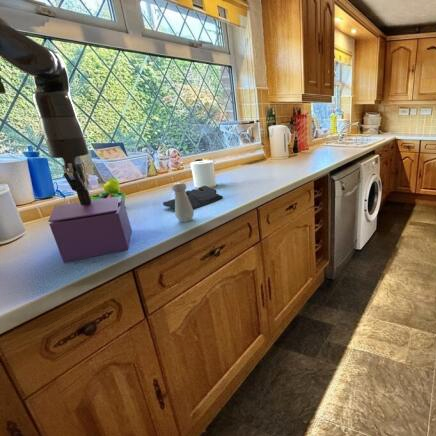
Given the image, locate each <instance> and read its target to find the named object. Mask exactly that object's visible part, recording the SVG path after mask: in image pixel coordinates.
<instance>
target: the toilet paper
mask: <svg viewBox="0 0 436 436" xmlns="http://www.w3.org/2000/svg"><path fill="white" fill-rule="evenodd" d="M190 169H191V174H192V179H193V186H194V188H195V187H197V188H196V189H198V188H200V187H202V186H207V187H210V188H213V187H216V186H217V185H218V184H217V178H216V172H215V166H214V161H213V160H197V161H196V160H195V161H192V162H190Z"/></svg>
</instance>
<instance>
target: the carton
mask: <svg viewBox="0 0 436 436" xmlns="http://www.w3.org/2000/svg"><path fill="white" fill-rule="evenodd" d="M112 198H115V197H112ZM105 199H108V198H105ZM98 200H101V199H98ZM91 201H93V199H91ZM79 202H80V201H77V202H76V201H75V203H79ZM71 203H72V202H69V203H68V204H71ZM127 211H128V210H127V208H126V204H124V200H123V199H122V196H120V197H118V211H117V212H111V213H105V214H98V215H92V216H85V217H79V218H73V219H66V220H60V221H53V222H49V224H48V225H49V228H50V230H51V233H52V235H53V238H54V241H55V244H56V246H57V249H58V251H59V254H60V257H61V259H62V262H63V264H66V263H69V262H70V263H71V262H75V261H80V260H85V259H89V258H94V257H99V256H103V255H110V254H113V253H118V252H124V251H129V249H130V245H131V244H130V243H131V236H132V225H131V222H130V219H129V215H128V212H127Z"/></svg>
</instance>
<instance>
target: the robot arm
mask: <svg viewBox="0 0 436 436" xmlns="http://www.w3.org/2000/svg"><path fill="white" fill-rule="evenodd" d="M0 58H1V59H3V60H4V61H6V62H7V63H8V64H10V65H12V66H13V67H15V68H16V69H17V70H19V71H21V72H23V73H25V74H27V75H29V76H31V77H32V80H33V84H34V89H35V91H33V92H32V95H31V96H32V97H31V98H32V102H33V105H34V108H35V110H36V113H37V117H38V120H39V126H40V130H41V132H42V136H43V139H44V141H45V144H46V148H47V149H48V152H49V156H50V157H51V158H53V159H62V161H63V164H62V166H61V167H62V170H63V177H64V178H65V180H66V181H67V183H68V185H69V186H70V189H71V190H72V191H73V192H76V195H77V198H78V202H80V204H81V205H89V204H91V202H92V201H91V200H92V198H91V194H90V191H89V186H90V182H89V176H88V170H87V166H86V163H85V162H84V161H82V159H81V157H84V156H87V155H89V153H90V152H89V151H90V150H89V148H88V144H87V142H86V138H85V135H84V131H83V128H82V126H81V123H80V121H79V118H78V116H77V112H76V110H75V107H74V103H73V101H72V98H71V89H70V82H69V80H70V79H69V75H68V70H67V67H66V64H65V62H64V60H63V59H62V57H61V56H60V55H59V54H58V53H57V52H56V51H55V50H53V49H51V48H50V47H47V46H44V45H43V44H40V43H38V42H37V41H35V40H33V39H32V38H30V37H29V36H27V35H25V34H24V33H22V32H20V31H19V30H17V29H15V28H14V27H13V26H12V25H11V24H10V23H8V21H6V19H4V18H2V17H1V16H0Z"/></svg>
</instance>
